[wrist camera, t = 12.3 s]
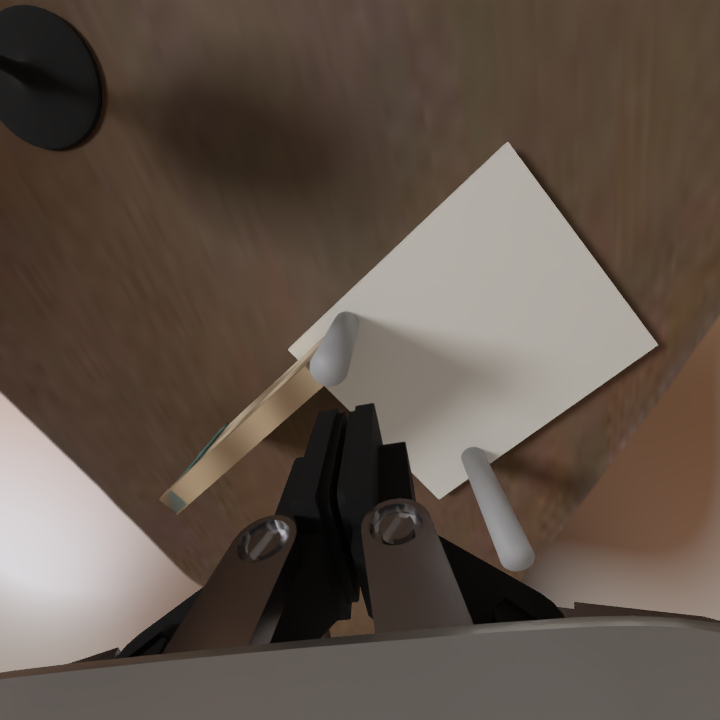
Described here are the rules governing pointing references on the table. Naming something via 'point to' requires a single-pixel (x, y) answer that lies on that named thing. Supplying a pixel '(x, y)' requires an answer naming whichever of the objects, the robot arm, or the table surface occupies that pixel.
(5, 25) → the wine glass
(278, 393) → the beige wavy patterned slab
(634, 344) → the white base with posts
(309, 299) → the table surface
